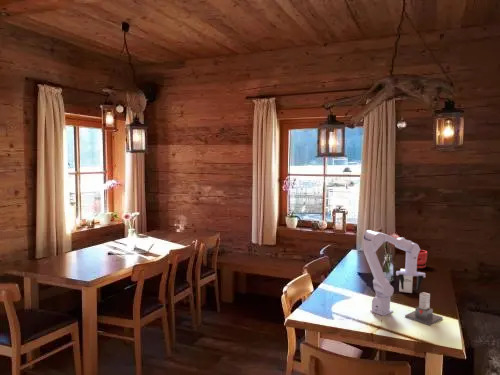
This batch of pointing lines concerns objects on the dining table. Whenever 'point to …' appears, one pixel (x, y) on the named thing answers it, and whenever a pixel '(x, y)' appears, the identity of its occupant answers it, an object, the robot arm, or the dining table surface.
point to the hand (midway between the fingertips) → (409, 289)
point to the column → (424, 301)
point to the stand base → (424, 316)
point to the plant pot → (421, 259)
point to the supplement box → (406, 283)
